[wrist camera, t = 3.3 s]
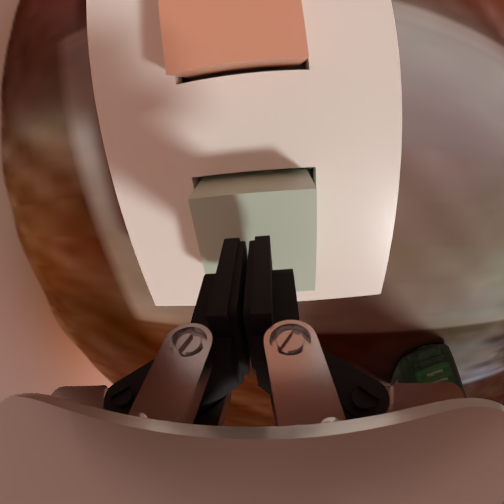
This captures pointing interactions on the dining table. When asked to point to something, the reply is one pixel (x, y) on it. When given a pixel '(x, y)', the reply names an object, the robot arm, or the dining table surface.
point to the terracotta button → (231, 35)
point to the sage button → (260, 217)
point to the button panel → (254, 138)
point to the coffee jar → (428, 366)
